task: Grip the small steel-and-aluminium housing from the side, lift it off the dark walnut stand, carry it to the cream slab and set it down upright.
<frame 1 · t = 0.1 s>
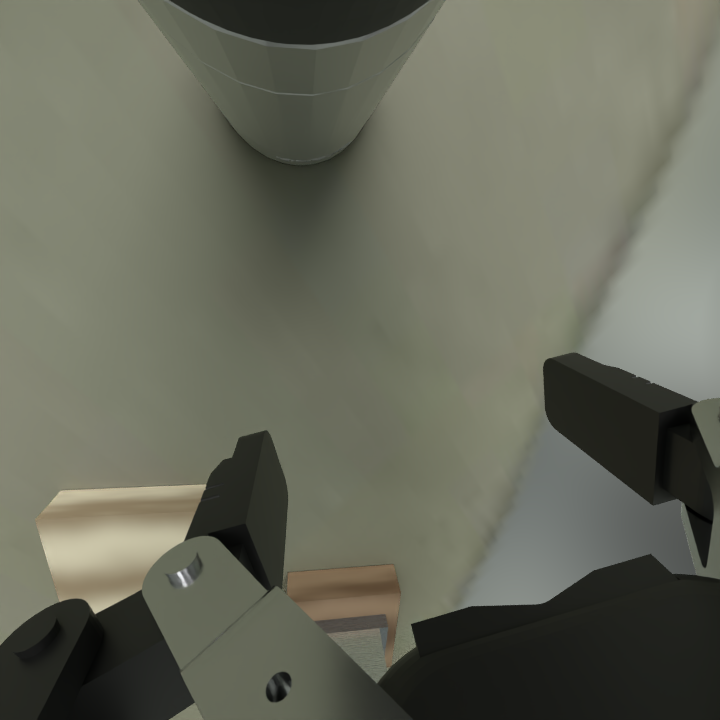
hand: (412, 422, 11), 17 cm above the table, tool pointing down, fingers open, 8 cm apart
walnut stand: (339, 606, 37), on the table
cream slab: (155, 545, 32), on the table
housing: (342, 637, 34), point 3 cm above the table, touching walnut stand
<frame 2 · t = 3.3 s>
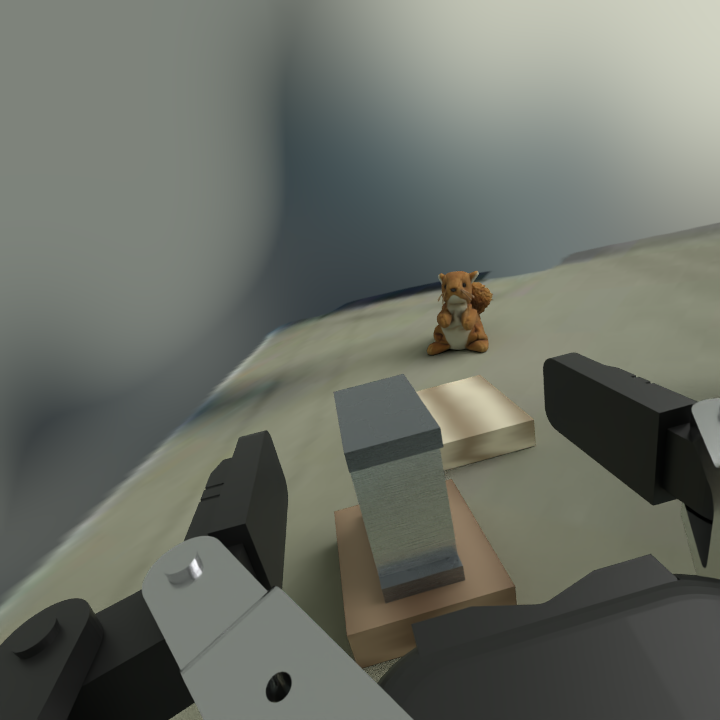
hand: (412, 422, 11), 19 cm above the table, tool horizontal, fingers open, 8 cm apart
walnut stand: (416, 573, 27), on the table
stuffed squirrel: (464, 343, 68), on the table
cream slab: (455, 430, 43), on the table
housing: (409, 542, 26), point 3 cm above the table, touching walnut stand
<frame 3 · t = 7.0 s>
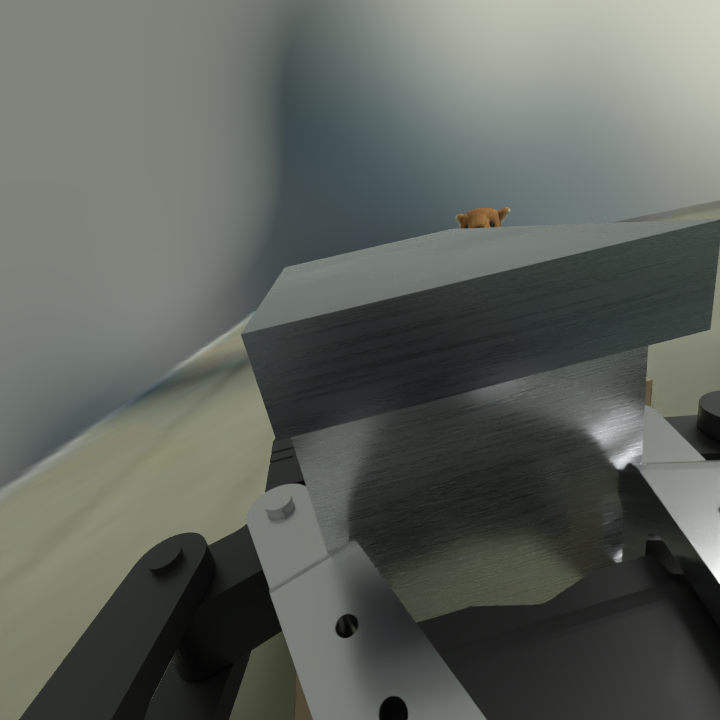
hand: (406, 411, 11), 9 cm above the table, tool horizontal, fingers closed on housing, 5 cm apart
walnut stand: (475, 695, 12), on the table
stuffed squirrel: (487, 308, 53), on the table
housing: (464, 631, 11), point 3 cm above the table, touching gripper, walnut stand
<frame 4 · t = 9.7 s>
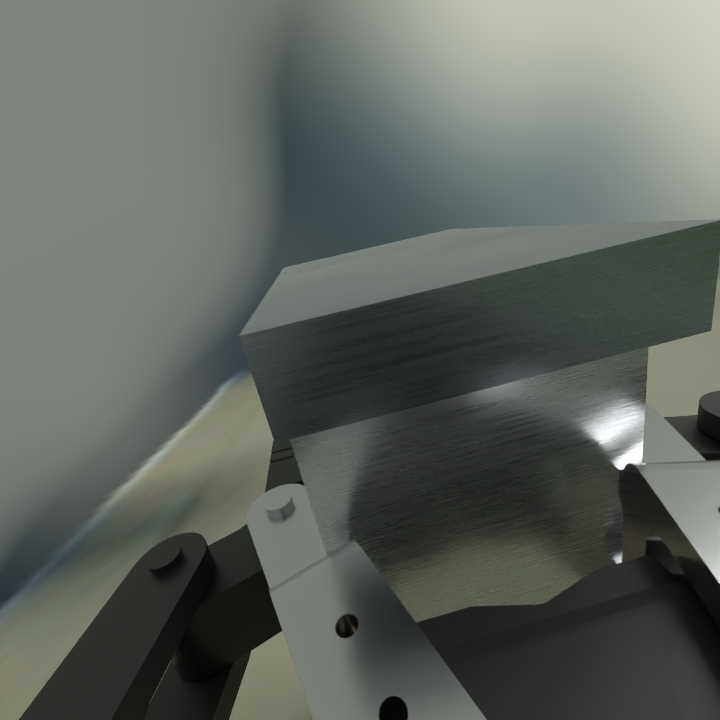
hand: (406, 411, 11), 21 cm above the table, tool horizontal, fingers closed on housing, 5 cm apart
housing: (464, 632, 11), point 15 cm above the table, touching gripper
when the fingers open (10 cm above the table, at t = 12.4 s): housing stays where it is, resting on cream slab.
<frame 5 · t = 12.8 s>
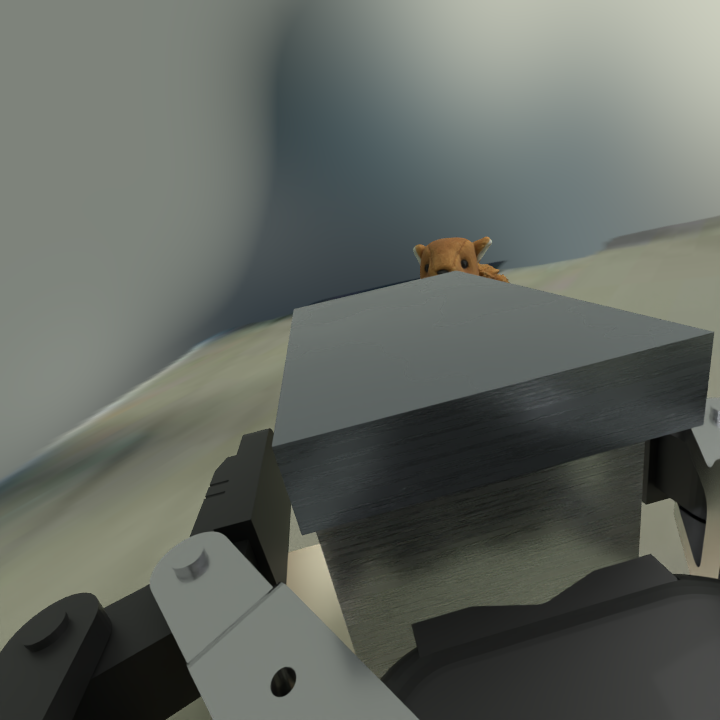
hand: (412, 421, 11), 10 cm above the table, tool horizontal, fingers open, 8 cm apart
stuffed squirrel: (463, 374, 37), on the table
cream slab: (478, 718, 12), on the table
housing: (468, 661, 11), point 3 cm above the table, touching cream slab
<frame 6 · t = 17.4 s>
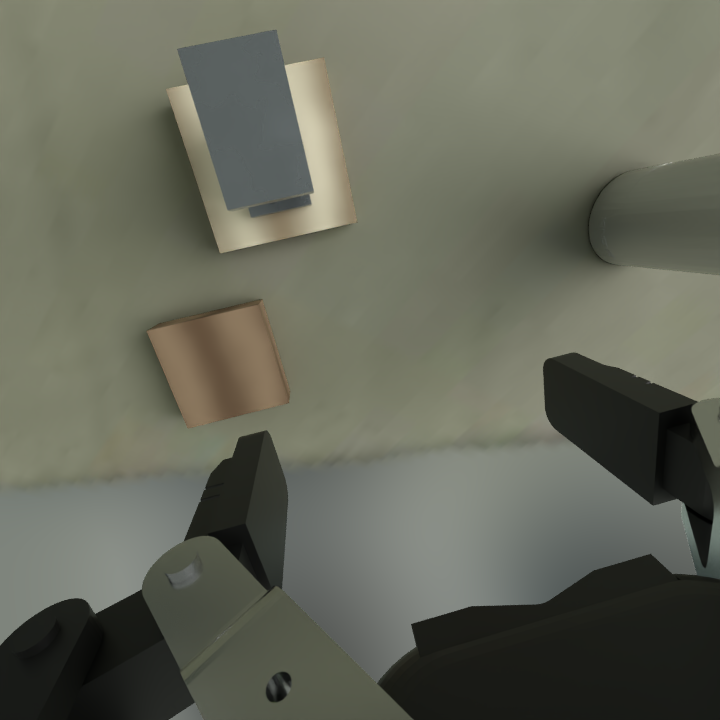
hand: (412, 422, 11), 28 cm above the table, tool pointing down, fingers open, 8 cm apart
walnut stand: (228, 359, 38), on the table
cream slab: (272, 167, 33), on the table
housing: (269, 161, 30), point 3 cm above the table, touching cream slab
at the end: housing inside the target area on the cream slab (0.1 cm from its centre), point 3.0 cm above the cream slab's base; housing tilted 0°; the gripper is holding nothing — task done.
